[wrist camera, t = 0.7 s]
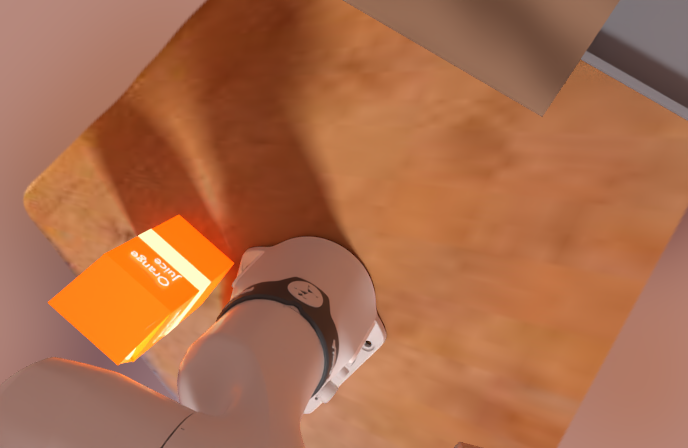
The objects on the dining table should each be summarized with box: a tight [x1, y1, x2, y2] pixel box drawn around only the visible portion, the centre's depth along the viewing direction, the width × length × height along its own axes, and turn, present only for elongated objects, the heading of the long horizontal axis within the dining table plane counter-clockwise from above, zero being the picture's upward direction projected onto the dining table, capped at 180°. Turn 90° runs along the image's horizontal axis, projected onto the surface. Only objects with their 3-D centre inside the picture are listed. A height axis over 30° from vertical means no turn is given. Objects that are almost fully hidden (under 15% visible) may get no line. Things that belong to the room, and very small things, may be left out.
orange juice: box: [48, 215, 234, 365], centre depth 67 cm, size 8×9×20 cm
